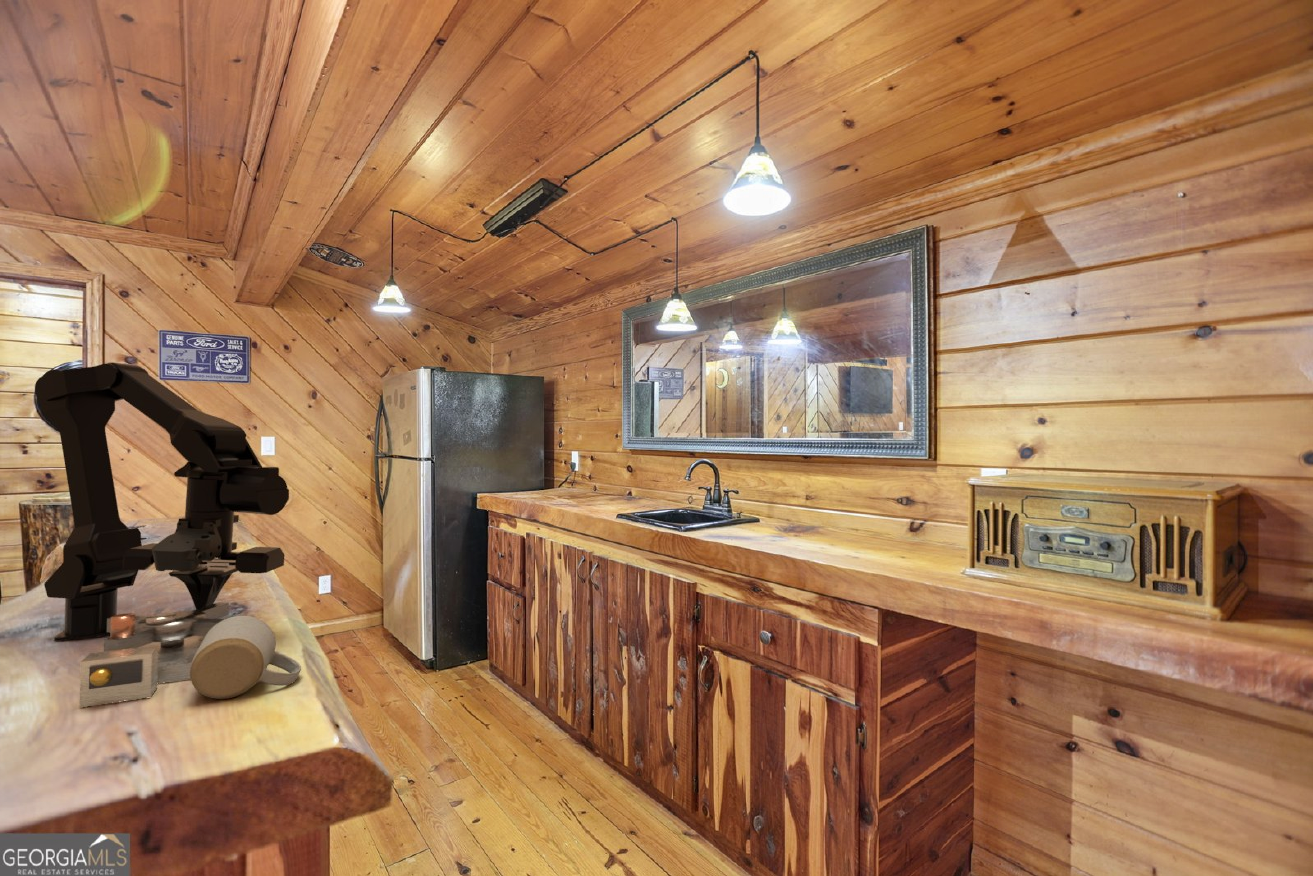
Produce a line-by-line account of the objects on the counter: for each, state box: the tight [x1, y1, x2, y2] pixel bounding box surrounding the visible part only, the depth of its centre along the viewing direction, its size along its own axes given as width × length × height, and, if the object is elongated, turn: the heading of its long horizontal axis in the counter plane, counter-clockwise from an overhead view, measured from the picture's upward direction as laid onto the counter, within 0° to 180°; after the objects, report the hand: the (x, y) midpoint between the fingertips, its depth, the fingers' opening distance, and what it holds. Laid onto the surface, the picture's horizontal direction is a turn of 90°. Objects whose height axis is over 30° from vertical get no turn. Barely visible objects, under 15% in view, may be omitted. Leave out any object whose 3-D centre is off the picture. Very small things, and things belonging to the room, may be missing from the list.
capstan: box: [103, 601, 230, 652], centre depth 79 cm, size 17×17×4 cm
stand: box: [78, 636, 205, 709], centre depth 77 cm, size 24×12×5 cm, turn 29°
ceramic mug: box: [190, 615, 302, 700], centre depth 71 cm, size 11×8×8 cm
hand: (203, 617), depth 87 cm, fingers closed
